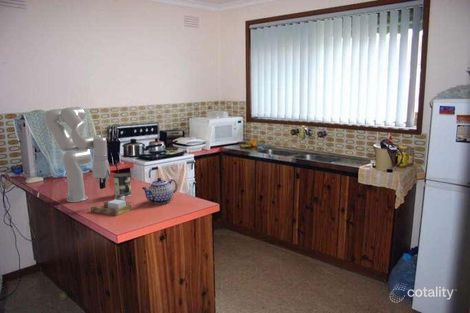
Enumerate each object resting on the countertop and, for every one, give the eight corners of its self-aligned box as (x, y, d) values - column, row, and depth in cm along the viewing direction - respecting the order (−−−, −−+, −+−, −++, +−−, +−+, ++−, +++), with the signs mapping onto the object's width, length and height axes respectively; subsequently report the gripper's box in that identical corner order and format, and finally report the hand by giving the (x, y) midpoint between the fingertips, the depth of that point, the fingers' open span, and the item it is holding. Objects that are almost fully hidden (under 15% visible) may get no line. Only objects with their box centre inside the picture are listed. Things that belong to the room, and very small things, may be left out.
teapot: (171, 194, 246) (170, 172, 243) (185, 199, 234) (183, 176, 232) (136, 203, 229) (134, 179, 226) (149, 208, 218) (147, 183, 215)
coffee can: (134, 193, 251) (132, 173, 249) (126, 197, 241) (125, 176, 239) (120, 193, 253) (118, 172, 251) (112, 197, 243) (110, 176, 241)
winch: (109, 204, 228) (108, 197, 227) (118, 201, 235) (118, 194, 234) (122, 206, 224) (121, 199, 223) (131, 202, 231) (130, 195, 230)
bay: (90, 211, 216) (90, 206, 216) (105, 205, 226) (104, 200, 226) (117, 215, 208) (116, 210, 207) (131, 209, 218) (130, 204, 217)
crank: (119, 197, 226) (118, 188, 225) (116, 196, 228) (115, 188, 227) (130, 192, 235) (130, 184, 234) (127, 192, 236) (126, 184, 235)
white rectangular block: (108, 212, 214) (107, 202, 213) (116, 209, 219) (115, 199, 218) (119, 214, 211) (118, 203, 210) (126, 210, 216) (125, 200, 215)
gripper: (86, 158, 220) (88, 187, 224) (105, 161, 214) (107, 191, 218) (96, 155, 227) (98, 184, 231) (115, 158, 220) (116, 188, 224)
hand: (102, 188), depth 224 cm, fingers closed
